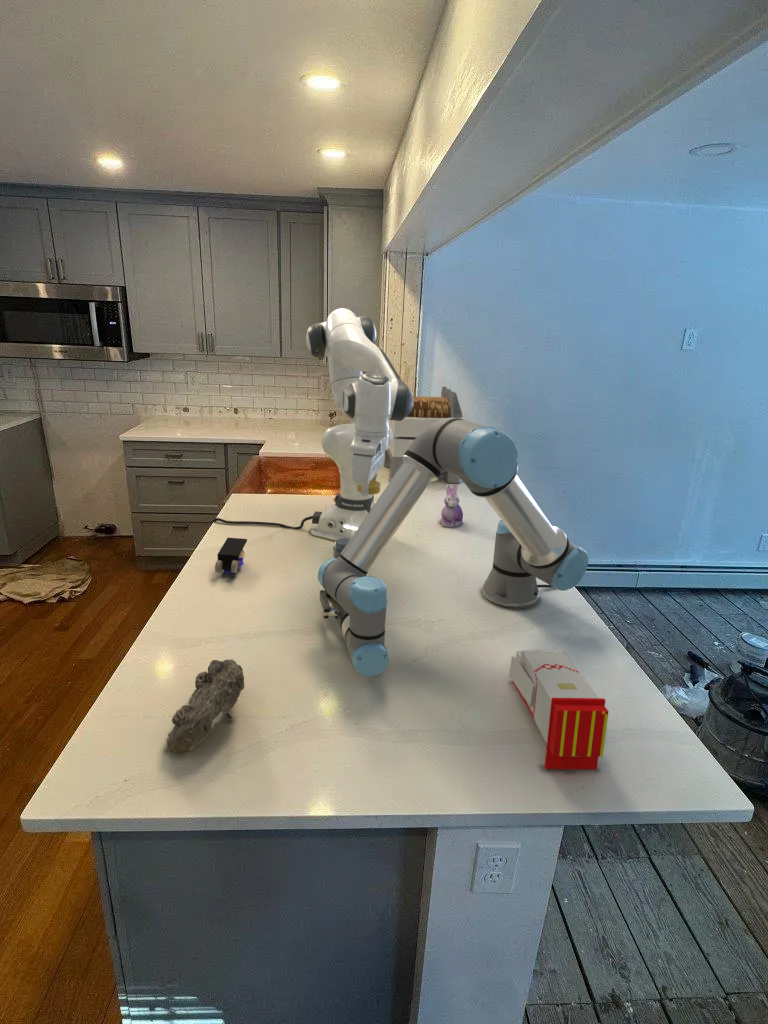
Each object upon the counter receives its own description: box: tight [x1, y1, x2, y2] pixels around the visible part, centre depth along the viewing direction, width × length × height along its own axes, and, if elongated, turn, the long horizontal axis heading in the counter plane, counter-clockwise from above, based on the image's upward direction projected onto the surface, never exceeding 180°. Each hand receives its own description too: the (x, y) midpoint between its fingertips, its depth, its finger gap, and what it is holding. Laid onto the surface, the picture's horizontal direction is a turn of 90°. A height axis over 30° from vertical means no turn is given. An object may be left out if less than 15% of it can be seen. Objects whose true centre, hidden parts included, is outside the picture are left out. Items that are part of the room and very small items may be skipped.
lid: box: [357, 480, 381, 495], centre depth 148 cm, size 6×6×2 cm
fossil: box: [166, 658, 245, 754], centre depth 106 cm, size 22×10×15 cm
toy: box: [509, 649, 610, 771], centre depth 110 cm, size 12×13×30 cm
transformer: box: [383, 386, 465, 484], centre depth 268 cm, size 34×33×41 cm
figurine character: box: [214, 537, 248, 578], centre depth 166 cm, size 7×8×15 cm
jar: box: [331, 538, 350, 611], centre depth 144 cm, size 5×5×20 cm
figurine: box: [440, 483, 464, 528], centre depth 209 cm, size 9×10×15 cm
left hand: (368, 491), depth 149 cm, fingers closed on lid, 5 cm apart
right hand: (339, 579), depth 150 cm, fingers closed on jar, 5 cm apart
